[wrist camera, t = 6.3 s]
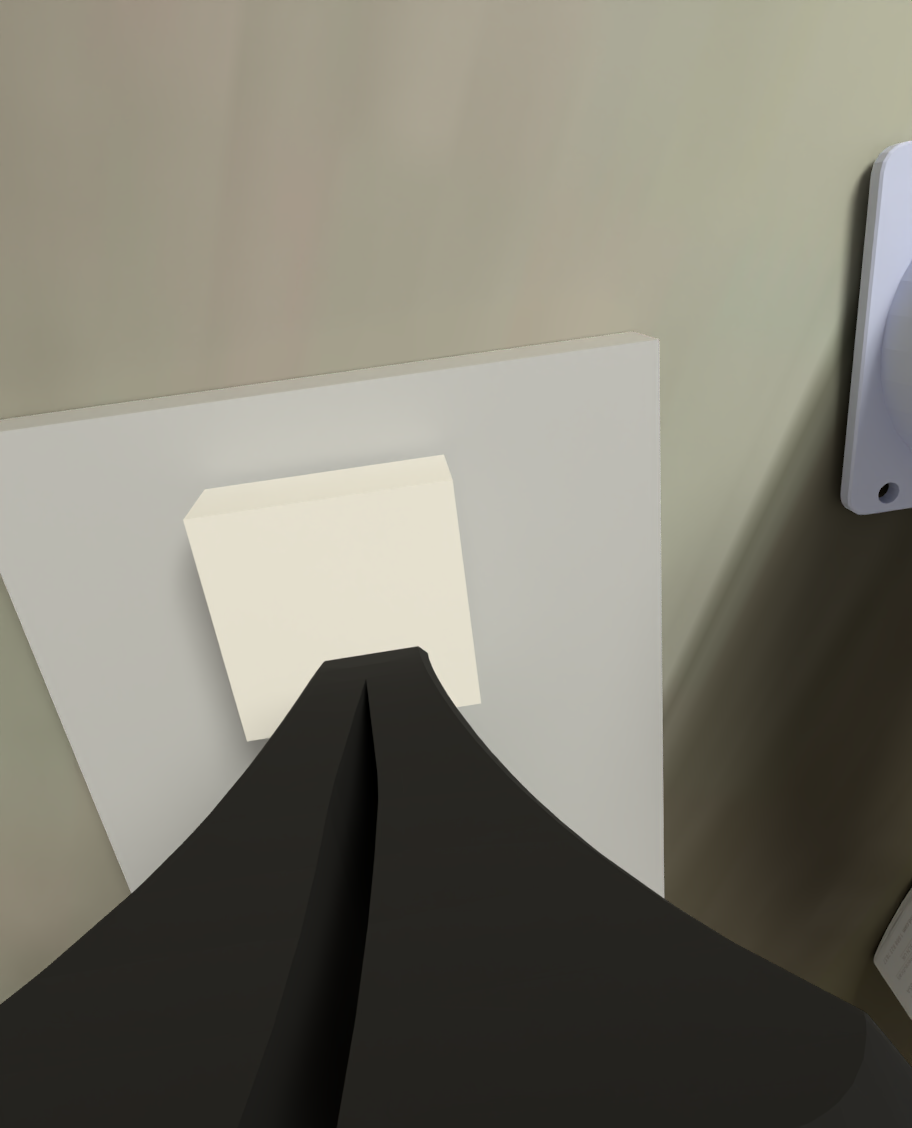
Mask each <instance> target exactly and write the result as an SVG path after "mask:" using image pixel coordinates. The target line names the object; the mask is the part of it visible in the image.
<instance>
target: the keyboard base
mask: <svg viewBox="0 0 912 1128" xmlns="http://www.w3.org/2000/svg"><path fill="white" fill-rule="evenodd" d="M437 455H444V456H445V459H446V462H447V465H448V468H449V471H450V474H451V476H452V479H453V486H454V494H455V502H456V510H457V517H458V525H459V533H460V541H461V549H462V557H463V564H464V572H465V580H466V588H467V596H468V604H469V611H470V619H471V627H472V635H473V643H474V650H475V658H476V666H477V674H478V682H479V690H480V697H481V704H474V705H468V706H462V707H457V709H458V710H459V711H460V713H461V714H462V715H463V717H464V718H465V719H466V721H467V722H468V723H469V725H470V726H471V727H472V728H473V730H474V731H475V732H476V734H477V735H478V736H479V737H480V739H481V740H482V741H483V742H484V743H485V745H486V746H487V747H488V748H489V749H490V751H491V752H492V753H493V754H494V755H495V756H496V757H497V758H498V759H499V760H500V762H501V763H502V764H503V765H504V766H505V767H506V768H507V769H508V770H509V771H510V773H511V774H512V775H513V776H514V777H515V778H516V779H517V780H518V781H519V782H520V783H521V784H522V785H523V786H524V787H525V788H526V789H527V790H528V791H529V792H530V793H531V794H532V795H533V796H534V797H535V798H536V799H538V800H539V801H540V802H541V803H542V804H543V805H544V806H545V807H546V808H548V809H549V810H550V811H551V812H552V813H553V814H554V815H555V816H556V817H557V818H559V819H560V820H561V821H562V822H563V823H564V824H566V825H567V826H568V827H569V828H570V829H572V830H573V831H574V832H575V833H576V834H578V835H579V836H580V837H581V838H582V839H584V840H585V841H586V842H587V843H588V844H590V845H591V846H592V847H593V848H595V849H596V850H597V851H598V852H600V853H601V854H602V855H604V856H605V857H607V858H608V859H609V860H611V861H612V862H614V863H615V864H616V865H618V866H619V867H621V868H622V869H623V870H625V871H626V872H628V873H629V874H630V875H632V876H633V877H635V878H636V879H637V880H639V881H640V882H642V883H643V884H645V885H646V886H647V887H649V888H650V889H652V890H653V891H654V892H656V893H657V894H659V895H660V896H661V897H663V898H664V820H663V706H662V591H661V477H660V362H659V339H657V338H654V337H651V336H647V335H644V334H641V333H638V332H635V331H631V332H624V333H617V334H609V335H602V336H595V337H588V338H581V339H574V340H566V341H559V342H552V343H545V344H538V345H531V346H523V347H516V348H509V349H502V350H495V351H488V352H481V353H473V354H466V355H459V356H452V357H445V358H438V359H430V360H423V361H416V362H409V363H402V364H395V365H387V366H380V367H373V368H366V369H359V370H352V371H345V372H337V373H330V374H323V375H316V376H309V377H302V378H294V379H287V380H280V381H273V382H266V383H259V384H251V385H244V386H237V387H230V388H223V389H216V390H209V391H201V392H194V393H187V394H180V395H173V396H166V397H158V398H151V399H144V400H137V401H130V402H123V403H115V404H108V405H101V406H94V407H87V408H80V409H72V410H65V411H58V412H51V413H44V414H37V415H30V416H22V417H15V418H8V419H1V420H0V573H1V576H2V578H3V581H4V583H5V586H6V588H7V590H8V593H9V595H10V598H11V600H12V603H13V605H14V608H15V610H16V612H17V615H18V617H19V620H20V622H21V625H22V627H23V630H24V632H25V634H26V637H27V639H28V642H29V644H30V647H31V649H32V652H33V654H34V656H35V659H36V661H37V664H38V666H39V669H40V671H41V674H42V676H43V679H44V681H45V683H46V686H47V688H48V691H49V693H50V696H51V698H52V701H53V703H54V705H55V708H56V710H57V713H58V715H59V718H60V720H61V723H62V725H63V727H64V730H65V732H66V735H67V737H68V740H69V742H70V745H71V747H72V749H73V752H74V754H75V757H76V759H77V762H78V764H79V767H80V769H81V772H82V774H83V776H84V779H85V781H86V784H87V786H88V789H89V791H90V794H91V796H92V798H93V801H94V803H95V806H96V808H97V811H98V813H99V816H100V818H101V820H102V823H103V825H104V828H105V830H106V833H107V835H108V838H109V840H110V843H111V845H112V847H113V850H114V852H115V855H116V857H117V860H118V862H119V865H120V867H121V869H122V872H123V874H124V877H125V879H126V882H127V884H128V887H129V889H130V891H131V893H133V892H134V891H135V890H136V889H137V888H138V887H139V886H140V885H141V884H142V883H143V882H144V881H145V880H146V879H147V878H148V877H149V876H150V875H151V874H152V873H153V872H154V871H155V870H156V869H157V868H158V867H159V866H160V865H161V864H162V863H163V862H164V861H165V860H166V859H167V858H168V857H169V856H170V855H171V854H172V853H173V852H174V851H175V850H176V849H177V848H178V847H179V846H180V845H181V844H182V843H183V842H184V841H185V840H186V839H187V838H188V837H189V836H190V835H191V834H192V833H193V832H194V830H195V829H196V828H197V827H198V826H199V825H200V824H201V823H202V822H203V821H204V820H205V818H206V817H207V816H208V815H209V814H210V813H211V812H212V810H213V809H214V808H215V807H216V806H217V804H218V803H219V802H220V801H221V800H222V798H223V797H224V796H225V795H226V794H227V792H228V791H229V790H230V789H231V787H232V786H233V785H234V784H235V783H236V781H237V780H238V779H239V778H240V777H241V775H242V774H243V773H244V772H245V771H246V769H247V768H248V767H249V765H250V764H251V763H252V762H253V760H254V759H255V758H256V756H257V755H258V753H259V752H260V751H261V749H262V748H263V747H264V745H265V744H266V743H267V741H268V740H269V739H270V738H265V739H259V740H253V741H247V740H246V736H245V733H244V729H243V726H242V722H241V719H240V715H239V712H238V709H237V705H236V702H235V698H234V695H233V691H232V688H231V684H230V681H229V677H228V674H227V670H226V667H225V664H224V660H223V657H222V653H221V650H220V646H219V643H218V639H217V636H216V632H215V629H214V625H213V622H212V619H211V615H210V612H209V608H208V605H207V601H206V598H205V594H204V591H203V587H202V584H201V580H200V577H199V574H198V570H197V567H196V563H195V560H194V556H193V553H192V549H191V546H190V542H189V539H188V535H187V532H186V529H185V525H184V522H183V519H184V518H185V516H186V515H187V514H188V512H189V511H190V509H191V508H192V506H193V505H194V504H195V502H196V501H197V499H198V498H199V497H200V495H201V494H202V492H203V491H204V489H211V488H218V487H224V486H231V485H238V484H245V483H252V482H259V481H266V480H272V479H279V478H286V477H293V476H300V475H307V474H314V473H320V472H327V471H334V470H341V469H348V468H355V467H362V466H368V465H375V464H382V463H389V462H396V461H403V460H409V459H416V458H423V457H430V456H437Z"/></svg>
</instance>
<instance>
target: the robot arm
mask: <svg viewBox="0 0 912 1128" xmlns="http://www.w3.org/2000/svg"><path fill="white" fill-rule="evenodd" d="M887 483H889V488H888V490H887V492H886V493H885V494H884V495H883V496H882V497H880V498H879V497H878V494H879V491H880V489H881V488H882V487H883V486H884V485H885V484H887ZM840 495H841V502H842V504H843V505H844V507H845V508H847V509H849V510H851V511H852V512H854V513H856V514H858V515H868V514H874V513H881V512H887V511H894V510H900V509H907V508H912V141H906V142H901V143H897V144H894V145H891V146H888V147H887V148H886V149H885V150H883V151H882V152H881V153H880V154H879V156H878V157H877V159H876V160H875V162H874V164H873V168H872V172H871V179H870V189H869V200H868V210H867V221H866V231H865V242H864V252H863V263H862V273H861V284H860V295H859V305H858V316H857V326H856V337H855V347H854V358H853V368H852V379H851V389H850V400H849V410H848V421H847V431H846V442H845V452H844V463H843V473H842V484H841V494H840ZM0 1128H912V1067H911V1066H910V1065H909V1064H908V1062H907V1061H906V1060H905V1059H904V1057H903V1056H902V1055H901V1054H900V1053H899V1051H898V1050H897V1049H896V1048H895V1046H894V1045H893V1044H892V1043H891V1041H890V1040H889V1039H888V1038H887V1037H886V1035H885V1034H884V1033H883V1032H882V1031H881V1029H880V1028H879V1027H878V1026H877V1025H876V1023H875V1022H874V1021H873V1020H872V1019H871V1017H870V1016H869V1015H868V1014H867V1013H865V1012H864V1011H862V1010H860V1009H858V1008H857V1007H855V1006H853V1005H851V1004H849V1003H847V1002H845V1001H843V1000H841V999H839V998H838V997H836V996H834V995H832V994H830V993H828V992H826V991H824V990H822V989H821V988H819V987H817V986H815V985H813V984H811V983H809V982H807V981H805V980H803V979H802V978H800V977H798V976H796V975H794V974H792V973H790V972H788V971H786V970H785V969H783V968H781V967H779V966H777V965H775V964H773V963H771V962H769V961H767V960H766V959H764V958H762V957H760V956H758V955H756V954H754V953H752V952H750V951H749V950H747V949H745V948H743V947H741V946H739V945H737V944H735V943H734V942H732V941H730V940H729V939H727V938H725V937H724V936H722V935H720V934H719V933H717V932H716V931H714V930H712V929H711V928H709V927H708V926H706V925H704V924H703V923H701V922H700V921H698V920H696V919H695V918H693V917H691V916H690V915H688V914H687V913H685V912H683V911H682V910H680V909H679V908H677V907H675V906H674V905H673V904H671V903H670V902H668V901H667V900H666V899H664V898H663V897H661V896H660V895H659V894H657V893H656V892H654V891H653V890H652V889H650V888H649V887H647V886H646V885H645V884H643V883H642V882H640V881H639V880H637V879H636V878H635V877H633V876H632V875H630V874H629V873H628V872H626V871H625V870H623V869H622V868H621V867H619V866H618V865H616V864H615V863H614V862H612V861H611V860H609V859H608V858H607V857H605V856H604V855H602V854H601V853H600V852H598V851H597V850H596V849H595V848H593V847H592V846H591V845H590V844H588V843H587V842H586V841H585V840H584V839H582V838H581V837H580V836H579V835H578V834H576V833H575V832H574V831H573V830H572V829H570V828H569V827H568V826H567V825H566V824H564V823H563V822H562V821H561V820H560V819H559V818H557V817H556V816H555V815H554V814H553V813H552V812H551V811H550V810H549V809H548V808H546V807H545V806H544V805H543V804H542V803H541V802H540V801H539V800H538V799H536V798H535V797H534V796H533V795H532V794H531V793H530V792H529V791H528V790H527V789H526V788H525V787H524V786H523V785H522V784H521V783H520V782H519V781H518V780H517V779H516V778H515V777H514V776H513V775H512V774H511V773H510V771H509V770H508V769H507V768H506V767H505V766H504V765H503V764H502V763H501V762H500V760H499V759H498V758H497V757H496V756H495V755H494V754H493V753H492V752H491V751H490V749H489V748H488V747H487V746H486V745H485V743H484V742H483V741H482V740H481V739H480V737H479V736H478V735H477V734H476V732H475V731H474V730H473V728H472V727H471V726H470V725H469V723H468V722H467V721H466V719H465V718H464V717H463V715H462V714H461V713H460V711H459V710H458V709H457V707H456V706H455V704H454V703H453V702H452V700H451V699H450V697H449V696H448V694H447V692H446V691H445V689H444V687H443V686H442V684H441V683H440V681H439V679H438V677H437V675H436V674H435V672H434V669H433V667H432V665H431V662H430V660H429V656H428V653H427V652H426V651H424V650H423V649H422V648H420V647H419V646H416V647H410V648H403V649H397V650H391V651H384V652H378V653H372V654H366V655H359V656H353V657H347V658H340V659H334V660H328V661H324V662H323V663H322V665H321V666H320V667H319V669H318V670H317V671H316V673H315V674H314V675H313V677H312V678H311V680H310V681H309V683H308V684H307V686H306V687H305V689H304V690H303V692H302V693H301V695H300V696H299V698H298V699H297V701H296V702H295V703H294V705H293V706H292V708H291V709H290V711H289V712H288V714H287V715H286V716H285V718H284V719H283V721H282V722H281V724H280V725H279V726H278V728H277V729H276V730H275V732H274V733H273V734H272V736H271V737H270V739H269V740H268V741H267V743H266V744H265V745H264V747H263V748H262V749H261V751H260V752H259V753H258V755H257V756H256V758H255V759H254V760H253V762H252V763H251V764H250V765H249V767H248V768H247V769H246V771H245V772H244V773H243V774H242V775H241V777H240V778H239V779H238V780H237V781H236V783H235V784H234V785H233V786H232V787H231V789H230V790H229V791H228V792H227V794H226V795H225V796H224V797H223V798H222V800H221V801H220V802H219V803H218V804H217V806H216V807H215V808H214V809H213V810H212V812H211V813H210V814H209V815H208V816H207V817H206V818H205V820H204V821H203V822H202V823H201V824H200V825H199V826H198V827H197V828H196V829H195V830H194V832H193V833H192V834H191V835H190V836H189V837H188V838H187V839H186V840H185V841H184V842H183V843H182V844H181V845H180V846H179V847H178V848H177V849H176V850H175V851H174V852H173V853H172V854H171V855H170V856H169V857H168V858H167V859H166V860H165V861H164V862H163V863H162V864H161V865H160V866H159V867H158V868H157V869H156V870H155V871H154V872H153V873H152V874H151V875H150V876H149V877H148V878H147V879H146V880H145V881H144V882H143V883H142V884H141V885H140V886H139V887H138V888H137V889H136V890H135V891H134V892H133V893H131V894H130V895H129V896H128V897H127V898H126V899H125V900H124V901H123V902H121V903H120V904H119V905H118V906H117V907H116V908H115V909H113V910H112V911H111V912H110V913H109V914H108V915H107V916H105V917H104V918H103V919H102V920H101V921H100V922H98V923H97V924H96V925H95V926H94V927H93V928H92V929H90V930H89V931H88V932H87V933H86V934H85V935H84V936H82V937H81V938H80V939H79V940H78V941H77V942H76V943H74V944H73V945H72V946H71V947H70V948H69V949H68V950H66V951H65V952H64V953H63V954H62V955H61V956H60V957H58V958H57V959H56V960H55V961H54V962H53V963H51V964H50V965H49V966H48V967H47V968H46V969H44V970H43V971H42V972H41V973H40V974H38V975H37V976H36V977H35V978H33V979H32V980H31V981H30V982H28V983H27V984H26V985H25V986H23V987H22V988H21V989H20V990H18V991H17V992H16V993H14V994H13V995H12V996H11V997H9V998H8V999H7V1000H6V1001H4V1002H3V1003H2V1004H0Z"/></svg>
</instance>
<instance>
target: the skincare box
mask: <svg viewBox="0 0 912 1128" xmlns="http://www.w3.org/2000/svg"><path fill="white" fill-rule="evenodd" d="M874 964H875V966H876V967H877V969H878V970H879V972H880V973H881V975H882V976H883V978H884V979H885V981H886V982H887V984H888V985H889V987H890V988H891V990H892V991H893V993H894V994H895V996H896V997H897V999H898V1001H899V1002H900V1004H901V1005H902V1007H903V1008H904V1010H905V1011H906V1013H907V1014H908V1016H909V1017H910V1019H911V1020H912V888H911V889H910V891H909V892H908V894H907V895H906V897H905V899H904V900H903V901H902V903H901V905H900V907H899V909H898V910H897V912H896V914H895V916H894V917H893V919H892V921H891V923H890V924H889V926H888V928H887V930H886V932H885V934H884V936H883V938H882V940H881V942H880V944H879V946H878V948H877V951H876V953H875V956H874Z"/></svg>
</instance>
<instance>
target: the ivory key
mask: <svg viewBox="0 0 912 1128" xmlns="http://www.w3.org/2000/svg"><path fill="white" fill-rule="evenodd" d="M183 522H184V525H185V529H186V532H187V535H188V539H189V542H190V546H191V549H192V553H193V556H194V560H195V563H196V567H197V570H198V574H199V577H200V580H201V584H202V587H203V591H204V594H205V598H206V601H207V605H208V608H209V612H210V615H211V619H212V622H213V625H214V629H215V632H216V636H217V639H218V643H219V646H220V650H221V653H222V657H223V660H224V664H225V667H226V670H227V674H228V677H229V681H230V684H231V688H232V691H233V695H234V698H235V702H236V705H237V709H238V712H239V715H240V719H241V722H242V726H243V729H244V733H245V736H246V740H247V741H253V740H259V739H265V738H270V737H271V736H272V734H273V733H274V732H275V730H276V729H277V728H278V726H279V725H280V724H281V722H282V721H283V719H284V718H285V716H286V715H287V714H288V712H289V711H290V709H291V708H292V706H293V705H294V703H295V702H296V701H297V699H298V698H299V696H300V695H301V693H302V692H303V690H304V689H305V687H306V686H307V684H308V683H309V681H310V680H311V678H312V677H313V675H314V674H315V673H316V671H317V670H318V669H319V667H320V666H321V665H322V663H323V662H324V661H328V660H334V659H340V658H347V657H353V656H359V655H366V654H372V653H378V652H384V651H391V650H397V649H403V648H410V647H416V646H419V647H420V648H422V649H423V650H424V651H426V652H427V653H428V656H429V660H430V662H431V665H432V667H433V669H434V672H435V674H436V675H437V677H438V679H439V681H440V683H441V684H442V686H443V687H444V689H445V691H446V692H447V694H448V696H449V697H450V699H451V700H452V702H453V703H454V704H455V706H456V707H462V706H468V705H474V704H481V697H480V690H479V682H478V674H477V666H476V658H475V650H474V643H473V635H472V627H471V619H470V611H469V604H468V596H467V588H466V580H465V572H464V564H463V557H462V549H461V541H460V533H459V525H458V517H457V510H456V502H455V494H454V486H453V479H452V476H451V474H450V471H449V468H448V465H447V462H446V459H445V456H444V455H437V456H430V457H423V458H416V459H409V460H403V461H396V462H389V463H382V464H375V465H368V466H362V467H355V468H348V469H341V470H334V471H327V472H320V473H314V474H307V475H300V476H293V477H286V478H279V479H272V480H266V481H259V482H252V483H245V484H238V485H231V486H224V487H218V488H211V489H204V491H203V492H202V494H201V495H200V497H199V498H198V499H197V501H196V502H195V504H194V505H193V506H192V508H191V509H190V511H189V512H188V514H187V515H186V516H185V518H184V519H183Z"/></svg>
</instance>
